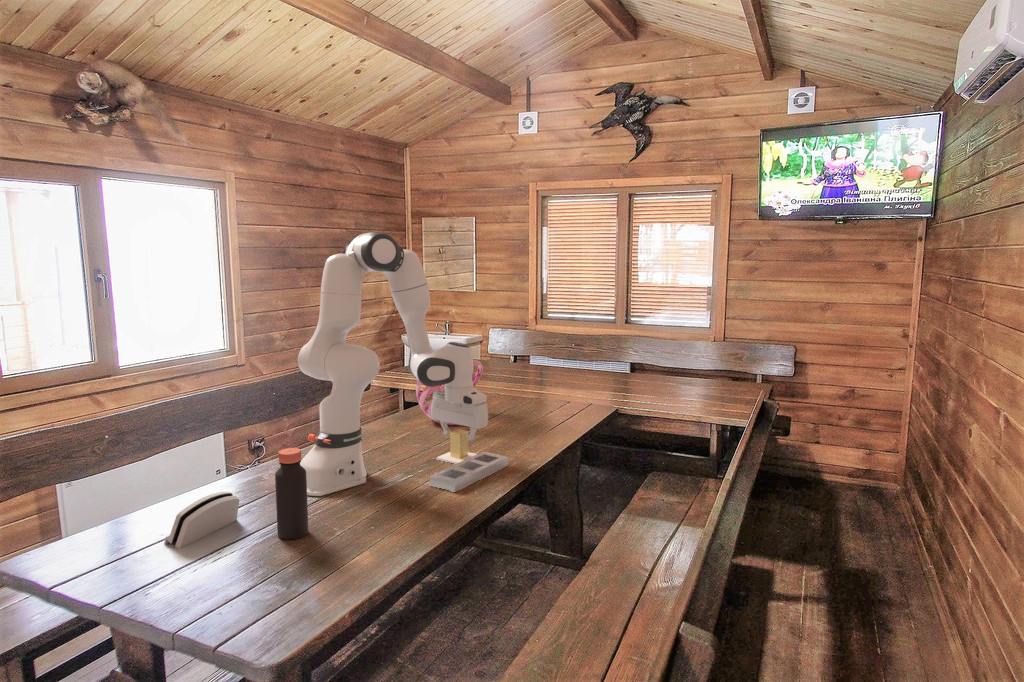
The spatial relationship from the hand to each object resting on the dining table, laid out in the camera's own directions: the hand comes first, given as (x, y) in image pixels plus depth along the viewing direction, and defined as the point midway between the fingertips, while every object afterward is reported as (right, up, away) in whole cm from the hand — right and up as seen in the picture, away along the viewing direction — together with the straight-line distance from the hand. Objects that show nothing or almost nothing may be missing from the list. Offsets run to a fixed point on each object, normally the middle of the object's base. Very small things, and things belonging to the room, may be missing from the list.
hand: (458, 437), depth 203 cm
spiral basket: (-7, 0, +45) cm, 45 cm away
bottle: (-34, -15, -52) cm, 64 cm away
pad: (0, -7, +1) cm, 7 cm away
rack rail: (+5, -9, -14) cm, 17 cm away
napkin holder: (-54, -15, -52) cm, 77 cm away
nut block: (0, -6, +1) cm, 6 cm away
